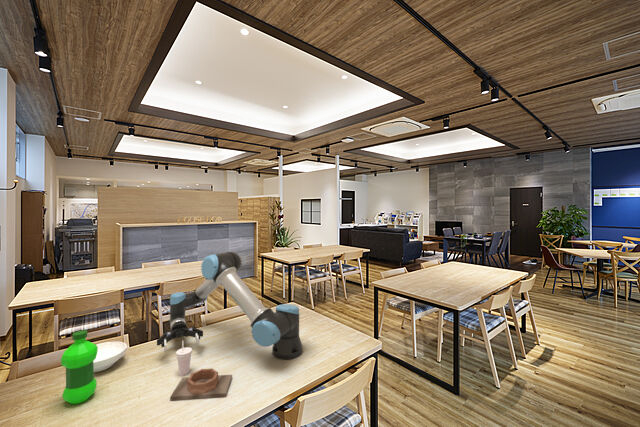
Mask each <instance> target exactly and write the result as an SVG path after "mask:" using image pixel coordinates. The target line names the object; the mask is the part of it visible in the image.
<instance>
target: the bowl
mask: <svg viewBox="0 0 640 427" xmlns="http://www.w3.org/2000/svg"><path fill="white" fill-rule="evenodd" d="M96 346H97V347H98V352H97V356H96V359H95V360H94V361H93V364H94V373H98V372H99V373H100V372H102V371H105V370H107V369H108V368H110V367H112V366H113V365H114V364H115V363H116V362H117V361H118V360H120V359H121V358H122V357H124V355H125V354H126V352H127V346H128V345H127V343H125V342H122V341H106V342H101V343H96Z"/></svg>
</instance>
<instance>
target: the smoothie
mask: <svg viewBox="0 0 640 427" xmlns="http://www.w3.org/2000/svg"><path fill="white" fill-rule="evenodd" d="M184 342H185V341H184V340H182V341H181V348H179V349H177V351H176V352H175V356H176V359H177V367H178V373H179V376H185V375H188V374H189V373H190V367H191V359H192V353H193V348H192V347H185V346H184V345H185V344H184Z"/></svg>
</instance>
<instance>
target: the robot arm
mask: <svg viewBox="0 0 640 427" xmlns="http://www.w3.org/2000/svg"><path fill="white" fill-rule="evenodd" d="M242 261H243V260H242V258H241V256H240V255H239V254H238V253H237V252H235V251H226V252H221V253H215V254H214V253H213V254H211V255H207V256H205V257H204V258H203V260H202V262H201V266H200V268H201V269H200V270H201V275H202V276H203V278H204V279H206V280H204V281H203V282H202V283H201V284H200V285H199V286H198V287H197V288H196V289H195V290H194V291H192V292H188V293H185V292H183V291H177V292H173V293H172V294H171V295H170V297H169V298H170V299H169V307H170V308H169V309H170V310H169V311H170V313H169V324H170V332H168V331H167V330H166V331H164V332H163V334H162V335H160V337H159V338H158V339H156V346H160V345H161V348H164V352H167V343H169V342H171V341H172V340H175V339H178V338H182V337H192V338H195V341H196V344H197V345H199V344H200V340H201V337H203V336H204V330H201V329H199V328H197V327H195V326H191V328H188V326H187V322H186V309H187V308H191V307H192V306H195V305H198V304H203V303H204V302H206V301H207V300H208V297H209V296H210V294H211V293H212V292H214V291H215V290H216V289H217V288H218V287H219V286H222V287H223V289H224V290H225V291H226V292H227V294H228V295H229V296H230V297H231V298H232V299H233V301H234V302H235V303H236V305H237V306H238V307H239V308H240V310H241V311H243V313H244V314H245V316H246V317H247V318H248V319H249V320H250V328H251V334H252V335H251V336H252V339H253V340H254V342H255V343H257V345H259V346H261V347H266V348H267V347H270V346H272V350H271V351H272V352H271V354H272V356H274V357H275V358H277V359H281V360H293V359H296V358H298V357H300V356H301V355H302V354H303V352H304V351H303V347H304V346H303V344H302V341H301V340H302V339H301V337H300V315H301V313H300V308H299V307H298V306H297V305H295V304H290V303H286V304H284V303H281V304H279V305H276V307H275V312H274V310H273V309H272V308H271V307H265V305H264V304H263V303H262V302H261V300H260V299H259V298H258V297H257V296H256V295H255V293H254V292H253V291H252V290H251V289H250V288H249V287H248V285H246V283H245V282H244V281H243V280H242V279H241V277H240V276H239V275H238V271H240V269H241V267H242V266H243V265H242Z"/></svg>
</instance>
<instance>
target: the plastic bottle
mask: <svg viewBox="0 0 640 427" xmlns="http://www.w3.org/2000/svg"><path fill="white" fill-rule="evenodd" d="M87 337H88V330H85V329H84V330H79V331H75V332H73V333H72V336H71V338H72V341H73V343H72V344H71V345H69V346H68V348H67V349H65V350H64V351H63V353H62V356H61V358H60V364H61V366H62V367H64V368H65V388H64V390H63V392H62V396H61V397H62V399H63V400H64V401H65V402H67V403H69V404H72V405H78V404H81V403H83V402H85V401H87V400H88V399H89V398H90V397H91V396H92V395H93V394H94V393H95V391H96V389H97V385H98V384H97V382H98V381H97V379H96V378H95V376H94V374H95V372H94V364H93V361H94V360H95V359H96V356H97V352H98V347H97V346H96V344H97V343H96V344H95V343H93V342H91V341H89V340H86V338H87Z"/></svg>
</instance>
